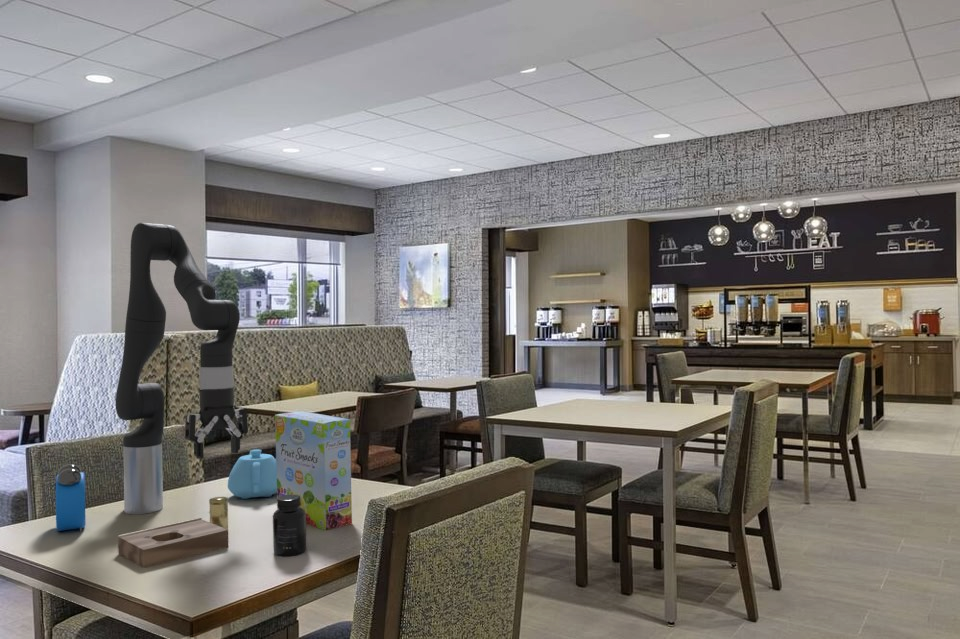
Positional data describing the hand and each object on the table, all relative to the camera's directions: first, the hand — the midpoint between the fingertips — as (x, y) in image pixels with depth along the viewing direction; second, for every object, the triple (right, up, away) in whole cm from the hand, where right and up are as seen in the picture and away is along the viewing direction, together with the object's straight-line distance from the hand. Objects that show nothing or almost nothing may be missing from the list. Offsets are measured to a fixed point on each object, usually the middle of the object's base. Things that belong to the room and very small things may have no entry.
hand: (217, 455), depth 170 cm
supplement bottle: (+21, -18, -15) cm, 31 cm away
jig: (-5, -18, -13) cm, 23 cm away
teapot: (0, -18, +38) cm, 42 cm away
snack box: (+20, -18, +11) cm, 29 cm away
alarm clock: (-37, -19, +5) cm, 41 cm away
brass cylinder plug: (0, -18, 0) cm, 18 cm away
